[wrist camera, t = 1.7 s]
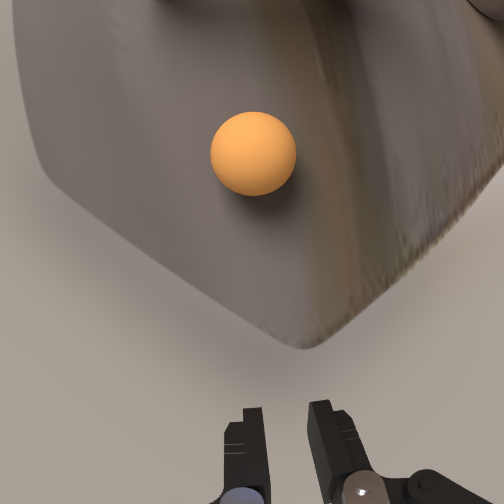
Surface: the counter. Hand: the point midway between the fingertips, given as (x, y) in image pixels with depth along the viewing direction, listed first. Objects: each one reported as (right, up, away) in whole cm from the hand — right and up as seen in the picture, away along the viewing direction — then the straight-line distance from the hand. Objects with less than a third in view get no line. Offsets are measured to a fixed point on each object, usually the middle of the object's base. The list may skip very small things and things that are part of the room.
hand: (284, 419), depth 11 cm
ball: (-1, +13, +9) cm, 16 cm away
